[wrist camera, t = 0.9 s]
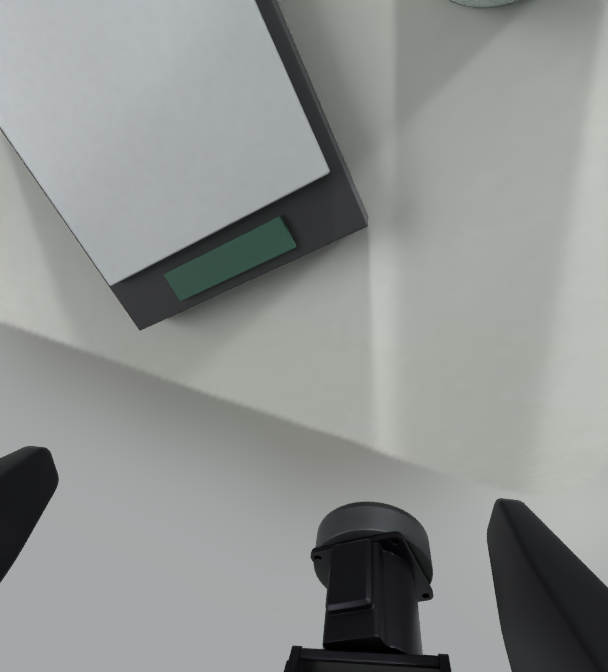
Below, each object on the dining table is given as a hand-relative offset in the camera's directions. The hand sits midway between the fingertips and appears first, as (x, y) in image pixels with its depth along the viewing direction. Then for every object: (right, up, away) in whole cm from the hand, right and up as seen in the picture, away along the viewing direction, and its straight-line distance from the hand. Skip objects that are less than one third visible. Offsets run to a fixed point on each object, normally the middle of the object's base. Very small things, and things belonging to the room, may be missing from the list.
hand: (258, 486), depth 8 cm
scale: (-5, +12, +10) cm, 16 cm away
